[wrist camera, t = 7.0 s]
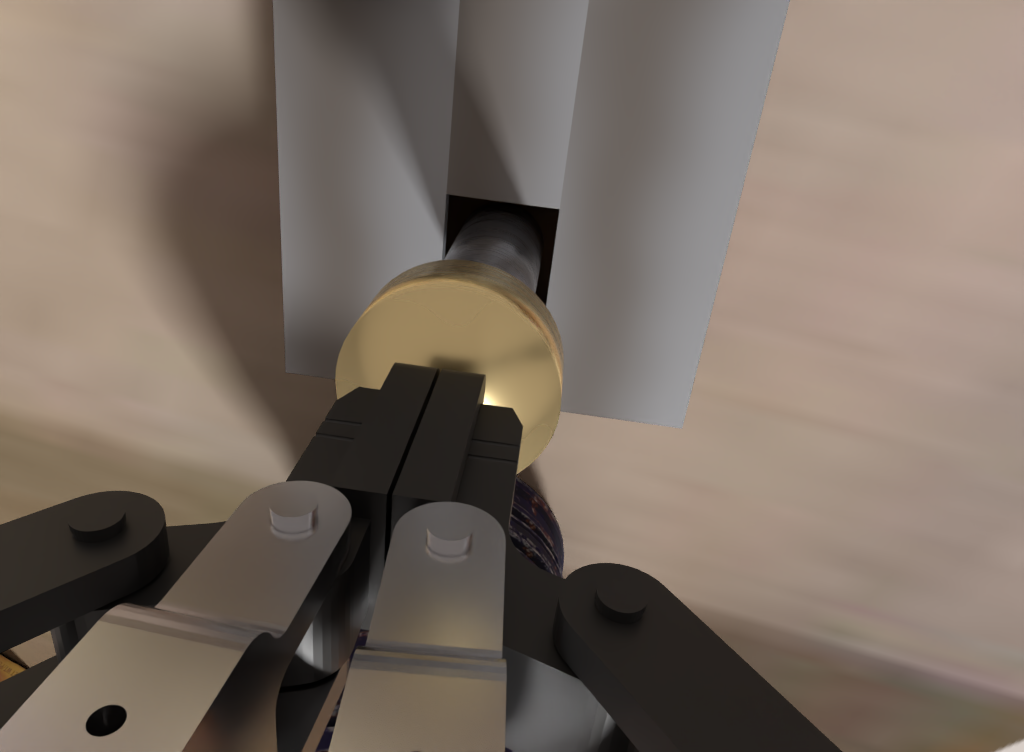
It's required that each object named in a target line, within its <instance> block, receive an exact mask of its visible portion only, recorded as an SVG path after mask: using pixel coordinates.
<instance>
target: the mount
mask: <svg viewBox="0 0 1024 752" xmlns="http://www.w3.org/2000/svg"><path fill="white" fill-rule="evenodd" d="M789 2H790V0H273V23H274V52H275V80H276V109H277V138H278V167H279V195H280V224H281V253H282V282H283V311H284V339H285V368H286V373H293V374H300V375H307V376H314V377H322V378H329V379H335V376H336V365H337V361H338V357H339V353H340V350H341V348H342V345H343V343H344V341H345V339H346V337H347V336H348V334H349V332H350V331H351V329H352V328H353V326H354V325H355V324H356V322H357V321H358V319H359V318H360V317H361V315H362V314H363V313H364V311H365V310H366V308H367V307H368V306H369V304H370V303H371V302H372V300H373V299H374V298H375V296H376V295H377V294H378V293H379V291H380V290H381V289H382V288H383V287H384V286H385V285H386V284H387V283H389V282H390V281H391V280H392V279H394V278H395V277H397V276H398V275H399V274H401V273H403V272H405V271H407V270H409V269H411V268H413V267H415V266H418V265H421V264H424V263H428V262H433V261H439V260H444V259H445V257H446V255H447V254H448V252H449V250H450V248H451V246H452V245H453V243H454V241H455V239H456V237H457V236H458V234H459V232H460V230H461V229H462V227H463V225H464V223H465V222H466V220H467V218H468V217H469V216H470V215H471V214H472V213H473V212H474V211H475V210H476V209H478V208H479V207H481V206H483V205H485V204H488V203H493V202H509V203H513V204H516V205H518V206H520V207H522V208H524V209H525V210H527V211H528V212H529V213H530V214H531V215H532V216H533V217H534V218H535V219H536V221H537V222H538V224H539V226H540V228H541V231H542V234H543V241H544V247H543V254H542V259H541V265H540V270H539V276H538V281H537V287H536V292H535V294H536V295H537V296H538V297H539V298H540V299H541V300H542V302H543V303H544V304H545V306H546V307H547V309H548V310H549V311H550V313H551V315H552V317H553V319H554V321H555V323H556V325H557V328H558V330H559V333H560V336H561V341H562V346H563V354H564V367H563V382H562V397H561V409H560V411H562V412H569V413H576V414H583V415H590V416H597V417H604V418H611V419H618V420H625V421H632V422H639V423H646V424H654V425H661V426H668V427H675V428H682V427H683V423H684V419H685V415H686V411H687V407H688V403H689V399H690V395H691V391H692V387H693V383H694V379H695V375H696V371H697V367H698V363H699V359H700V355H701V351H702V347H703V343H704V339H705V335H706V331H707V328H708V324H709V320H710V316H711V312H712V308H713V304H714V300H715V296H716V292H717V288H718V284H719V280H720V276H721V272H722V268H723V264H724V260H725V256H726V252H727V248H728V244H729V240H730V236H731V232H732V228H733V224H734V220H735V216H736V212H737V208H738V204H739V200H740V196H741V193H742V189H743V185H744V181H745V177H746V173H747V169H748V165H749V161H750V157H751V153H752V149H753V145H754V141H755V137H756V133H757V129H758V125H759V121H760V117H761V113H762V109H763V105H764V101H765V97H766V93H767V89H768V85H769V81H770V77H771V73H772V69H773V65H774V61H775V57H776V54H777V50H778V46H779V42H780V38H781V34H782V30H783V26H784V22H785V18H786V14H787V10H788V6H789Z"/></svg>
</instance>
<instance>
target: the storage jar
mask: <svg viewBox="0 0 1024 752" xmlns="http://www.w3.org/2000/svg"><path fill="white" fill-rule="evenodd" d="M509 534H510V538H511V540H512V542H513V544H514V546H515V547H516V549H517V550H518V551H519V553H520V554H521V555H522V556H523V557H524V558H526V559H527V560H528V561H529V562H531V563H532V564H534V565H535V566H537V567H539V568H540V569H542V570H545V571H547V572H549V573H551V574H554V575H556V576H559V577H561V578H563V577H562V571H563V563H564V548H563V539H562V535H561V532H560V528H559V525H558V523H557V521H556V519H555V517H554V515H553V513H552V511H551V510H550V509H549V507H548V506H547V505H546V503H545V502H544V500H543V499H542V498H541V497H540V496H539V495H538V494H537V493H536V492H535V491H534V490H533V489H532V488H531V487H529V486H528V485H527V484H525V483H524V482H523V481H521V480H520V479H519V478H517V477H516V483H515V490H514V497H513V504H512V511H511V518H510V525H509ZM368 633H369V630H364V629H360V632H359V634H358V637H357V640H356V643H355V646H354V648H353V651H352V653H351V655H350V666H351V662H352V659H353V656H354V653H355V650H356V648H357V647H358V646H365V645H366V641H367V637H368ZM345 685H346V684H345ZM344 689H345V686H344V688H343V690H342V693H341V695H340V697H339V699H338V701H337V704H336V706H335V708H334V710H333V713H332V715H331V717H330V719H329V722H328V724H327V726H326V728H325V730H324V733H323V735H322V737H321V739H320V742H319V744H318V746H317V748H316V751H315V752H328V751H329V747H330V743H331V739H332V735H333V731H334V728H335V724H336V720H337V716H338V712H339V708H340V704H341V700H342V697H343V693H344ZM505 752H514V751H512V750H510V749H508V748H506V747H505Z"/></svg>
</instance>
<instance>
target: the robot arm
mask: <svg viewBox="0 0 1024 752" xmlns="http://www.w3.org/2000/svg"><path fill="white" fill-rule="evenodd" d="M485 385H486V375H485V374H478V373H471V372H463V371H456V370H449V369H442V370H441V372H440V369H439V368H433V367H426V366H419V365H412V364H405V363H397V362H395V363H394V364H393V366H392V368H391V370H390V372H389V374H388V375H387V377H386V379H385V381H384V383H383V385H382V387H381V389H380V390H379V389H371V388H364V387H358V388H356V389H354V390H353V391H351V392H349V393H348V394H346V395H344V396H343V397H341V398H339V399H338V400H336V402H335V404H334V405H333V407H332V408H331V410H330V412H329V413H328V415H327V416H326V418H325V422H323V423H322V424H321V426H320V428H319V429H318V431H317V432H316V437H315V436H314V437H313V439H312V440H311V442H310V444H309V445H308V447H307V448H306V450H305V452H304V453H303V455H302V456H301V458H300V460H299V461H298V463H297V464H296V466H295V468H294V469H293V471H292V472H291V474H290V476H289V477H288V479H287V480H286V482H281V483H277V484H273V485H270V486H267V487H264V488H262V489H260V490H258V491H256V492H254V493H253V494H251V495H250V496H249V497H247V498H246V499H245V500H244V501H243V502H242V503H241V504H240V505H239V507H238V508H237V509H236V510H235V512H234V513H233V514H232V515H231V516H230V518H229V519H228V520H227V521H224V522H218V523H210V524H196V525H183V526H169V527H166V521H165V514H164V511H163V508H162V507H161V506H160V504H159V503H158V502H156V501H155V500H154V499H152V498H150V497H148V496H146V495H143V494H140V493H135V492H129V491H107V492H99V493H94V494H89V495H85V496H82V497H78V498H75V499H72V500H70V501H67V502H64V503H61V504H58V505H55V506H53V507H50V508H47V509H44V510H41V511H38V512H36V513H33V514H30V515H27V516H24V517H21V518H19V519H16V520H13V521H10V522H7V523H4V524H2V525H0V653H1V652H4V651H6V650H8V649H10V648H12V647H15V646H17V645H19V644H21V643H23V642H26V641H28V640H30V639H32V638H34V637H37V636H39V635H41V634H43V633H45V632H48V631H51V635H52V639H53V643H54V647H55V651H56V656H54V657H52V658H49V659H47V660H45V661H43V662H41V663H39V664H37V665H35V666H33V667H31V668H29V669H26V670H24V671H22V672H20V673H18V674H16V675H14V676H12V677H10V678H8V679H6V680H3V681H1V682H0V752H315V751H316V748H317V746H318V744H319V742H320V739H321V737H322V735H323V733H324V730H325V728H326V726H327V724H328V722H329V719H330V717H331V715H332V713H333V710H334V708H335V706H336V704H337V701H338V699H339V697H340V695H341V693H342V690H343V688H344V686H345V689H344V693H343V697H342V700H341V704H340V708H339V712H338V716H337V720H336V724H335V728H334V731H333V735H332V739H331V743H330V747H329V751H328V752H505V747H506V748H508V749H510V750H512V751H514V752H842V751H841V750H840V749H839V748H838V747H837V746H836V745H835V744H833V743H832V742H831V741H830V740H829V739H828V738H827V737H826V736H825V735H824V734H823V733H822V732H821V731H819V730H818V729H817V728H816V727H815V726H814V725H813V724H812V723H811V722H810V721H809V720H808V719H807V718H806V717H804V716H803V715H802V714H801V713H800V712H799V711H798V710H797V709H796V708H795V707H794V706H793V705H792V704H790V703H789V702H788V701H787V700H786V699H785V698H784V697H783V696H782V695H781V694H780V693H779V692H778V691H777V690H775V689H774V688H773V687H772V686H771V685H770V684H769V683H768V682H767V681H766V680H765V679H764V678H763V677H761V676H760V675H759V674H758V673H757V672H756V671H755V670H754V669H753V668H752V667H751V666H750V665H749V664H748V663H746V662H745V661H744V660H743V659H742V658H741V657H740V656H739V655H738V654H737V653H736V652H735V651H734V650H732V649H731V648H730V647H729V646H728V645H727V644H726V643H725V642H724V641H723V640H722V639H721V638H720V637H719V636H717V635H716V634H715V633H714V632H713V631H712V630H711V629H710V628H709V627H708V626H707V625H706V624H705V623H703V622H702V621H701V620H700V619H699V618H698V617H697V616H696V615H695V614H694V613H693V612H692V611H691V610H690V609H688V608H687V607H686V606H685V605H684V604H683V603H682V602H681V601H680V600H679V599H678V598H677V597H676V596H674V595H673V594H672V593H671V592H670V591H669V590H668V589H667V588H666V587H665V586H664V585H662V584H661V583H660V582H659V581H658V580H656V579H655V578H653V577H652V576H650V575H648V574H646V573H644V572H642V571H640V570H638V569H635V568H632V567H629V566H625V565H620V564H613V563H598V564H591V565H587V566H584V567H581V568H579V569H577V570H575V571H574V572H572V573H571V574H570V575H568V577H567V578H566V579H564V578H561V577H559V576H556V575H554V574H551V573H549V572H547V571H545V570H542V569H540V568H539V567H537V566H535V565H534V564H532V563H531V562H529V561H528V560H527V559H526V558H524V557H523V556H522V555H521V554H520V553H519V551H518V550H517V549H516V547H515V546H514V544H513V542H512V540H511V538H510V534H509V525H510V518H511V511H512V504H513V497H514V490H515V483H516V475H517V468H518V461H519V453H520V446H521V439H522V431H523V425H522V423H521V422H520V420H519V418H518V416H517V415H516V413H515V411H514V409H513V408H509V407H501V406H494V405H487V404H484V395H485ZM360 629H364V630H369V633H368V637H367V641H366V645H365V646H358V647H357V648H356V650H355V653H354V656H353V659H352V662H351V666H350V655H351V653H352V651H353V648H354V646H355V643H356V640H357V637H358V634H359V632H360ZM345 684H346V685H345Z"/></svg>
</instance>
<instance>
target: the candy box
mask: <svg viewBox="0 0 1024 752" xmlns="http://www.w3.org/2000/svg"><path fill="white" fill-rule="evenodd" d="M24 670H26V669H25V668H23V667H21V666H19V665H18V664H16V663H13V662H12V661H10V660H8V659H7V658H5V657H3V656H2V655H0V682H1V681H3V680H6V679H8V678H10V677H12V676H14V675H16V674H18V673H20V672H22V671H24Z"/></svg>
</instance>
